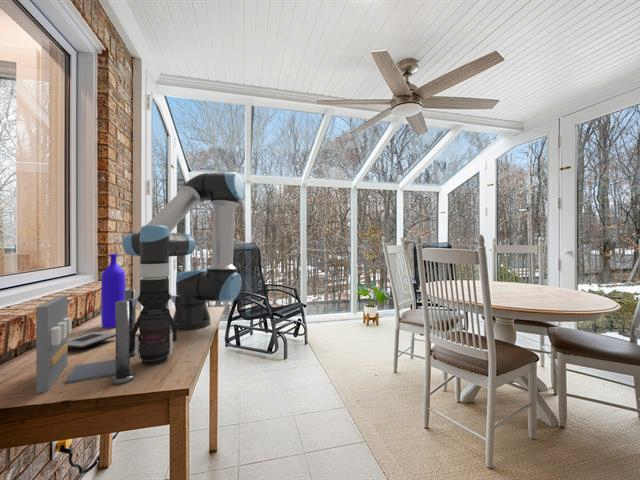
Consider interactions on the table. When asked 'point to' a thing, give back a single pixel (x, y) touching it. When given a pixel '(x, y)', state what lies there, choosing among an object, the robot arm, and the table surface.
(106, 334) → the electrical outlet
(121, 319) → the post
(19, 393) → the table surface
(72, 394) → the table surface
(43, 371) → the breaker panel
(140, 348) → the camera lens
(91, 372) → the pad
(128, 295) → the post
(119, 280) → the bottle
